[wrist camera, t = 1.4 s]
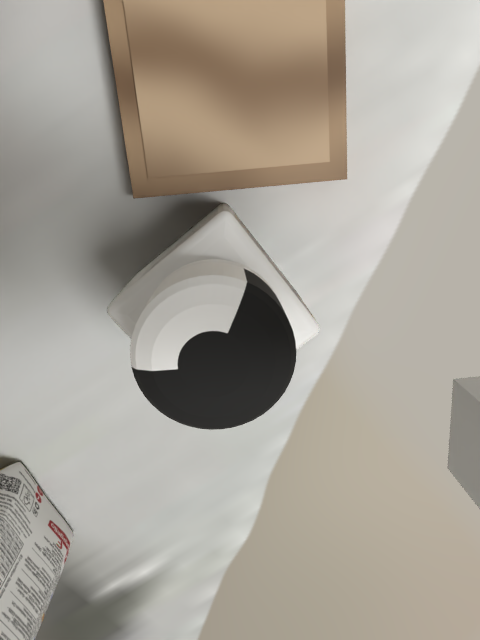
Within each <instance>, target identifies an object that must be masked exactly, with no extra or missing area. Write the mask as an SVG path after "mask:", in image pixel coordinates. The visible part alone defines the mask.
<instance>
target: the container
mask: <svg viewBox="0 0 480 640" xmlns="http://www.w3.org/2000/svg"><path fill="white" fill-rule="evenodd" d="M107 313H108V315H109V316H110V317H111V318H112V319H113V320H114V321H115V322H116V324H117V325H118V326H119V327H120V328H121V329H122V330H123V331H124V332H125V333H126V334H127V335H128V336H129V337H130V338H131V345H130V358H131V366H132V370H133V373H134V377H135V379H136V381H137V384H138V386H139V388H140V389H141V391H142V392H143V394H144V396H145V397H146V398H147V399H148V400H149V402H150V403H151V404H152V405H153V406H154V407H155V408H157V409H158V410H159V411H160V412H161V413H163V414H164V415H166V416H167V417H169V418H171V419H173V420H175V421H177V422H179V423H182V424H184V425H187V426H191V427H195V428H200V429H225V428H232V427H236V426H239V425H243V424H245V423H247V422H250V421H252V420H254V419H256V418H257V417H259V416H261V415H262V414H264V413H265V412H266V411H268V410H269V409H270V408H271V407H272V406H273V405H274V404H275V403H276V402H277V401H278V400H279V399H280V397H281V396H282V395H283V393H284V392H285V390H286V388H287V387H288V385H289V383H290V380H291V378H292V375H293V372H294V367H295V363H296V350H297V349H299V348H300V347H301V346H303V345H304V344H305V343H307V342H308V341H309V340H311V339H312V338H313V337H315V336H316V335H317V334H318V333H319V328H320V327H319V325H318V323H317V321H316V320H315V318H314V317H313V316H312V314H311V313H310V311H309V310H308V308H307V307H306V305H305V304H304V302H303V301H302V299H301V298H300V296H299V295H298V293H297V292H296V290H295V289H294V288H293V287H292V285H291V284H290V283H289V281H288V280H287V279H286V278H285V276H284V275H283V274H282V272H281V271H280V270H279V269H278V267H277V266H276V265H275V264H274V262H273V261H272V260H271V258H270V257H269V256H268V255H267V253H266V252H265V251H264V250H263V248H262V247H261V246H260V244H259V243H258V242H257V241H256V239H255V238H254V237H253V235H252V234H251V233H250V232H249V230H248V229H247V228H246V227H245V225H244V224H243V223H242V221H241V220H240V219H239V218H238V216H237V215H236V214H235V212H234V211H233V210H232V209H231V207H230V206H229V205H228V204H226V203H222V204H220V205H219V206H217V207H216V208H215V209H214V210H213V211H211V212H210V213H209V214H208V215H207V216H205V217H204V218H203V219H202V220H201V221H199V222H198V223H197V224H196V225H195V226H193V227H192V228H191V229H190V230H189V231H187V232H186V233H185V234H184V235H183V236H181V237H180V238H179V239H178V240H177V241H175V242H174V243H173V244H172V245H171V246H169V247H168V248H167V249H166V250H165V251H163V252H162V253H161V254H160V255H159V256H157V257H156V258H155V259H154V260H153V261H152V262H150V263H149V264H148V265H147V266H146V267H144V268H143V269H142V270H141V271H140V272H138V273H137V274H136V275H135V276H134V277H133V278H132V279H131V280H130V282H129V283H128V284H127V285H126V286H125V287H124V288H123V290H122V291H121V292H120V293H119V294H118V295H117V296H116V298H115V299H114V300H113V301H112V302H111V303H110V304H109V306H108V307H107Z"/></svg>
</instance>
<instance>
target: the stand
mask: <svg viewBox="0 0 480 640" xmlns="http://www.w3.org/2000/svg"><path fill="white" fill-rule="evenodd" d="M103 2H104V9H105V15H106V22H107V28H108V35H109V41H110V48H111V54H112V61H113V68H114V74H115V81H116V87H117V94H118V100H119V107H120V113H121V120H122V126H123V133H124V139H125V146H126V152H127V159H128V165H129V172H130V179H131V185H132V192H133V198H144V197H155V196H166V195H177V194H188V193H199V192H210V191H222V190H233V189H244V188H255V187H266V186H277V185H288V184H299V183H310V182H321V181H332V180H343V179H347V132H346V54H345V0H103Z"/></svg>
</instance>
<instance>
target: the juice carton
mask: <svg viewBox="0 0 480 640" xmlns="http://www.w3.org/2000/svg"><path fill="white" fill-rule="evenodd" d="M73 537H74V534H73V532H72V531H71V529H70V527H69V526H68V525H67V523H66V522H65V521H64V519H63V518H62V517H61V515H60V514H59V513H58V512H57V510H56V509H55V508H54V507H53V506H52V504H51V503H50V502H49V500H48V499H47V498H46V496H45V495H44V493H43V492H42V491H41V489H40V488H39V486H38V485H37V483H36V482H35V480H34V479H33V477H32V476H31V475H30V473H29V472H28V471H27V469H26V468H25V467H24V466H23V465H22V464H21V463H20V462H17V463H14V464H11V465H9V466H7V467H5V468H2V469H0V640H35V638H36V635H37V633H38V630H39V628H40V625H41V623H42V620H43V618H44V615H45V613H46V611H47V608H48V606H49V603H50V601H51V598H52V596H53V593H54V591H55V588H56V586H57V583H58V580H59V578H60V575H61V572H62V570H63V567H64V564H65V561H66V559H67V556H68V553H69V550H70V547H71V544H72V541H73Z"/></svg>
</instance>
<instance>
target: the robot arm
mask: <svg viewBox="0 0 480 640" xmlns="http://www.w3.org/2000/svg"><path fill="white" fill-rule="evenodd" d="M448 469H449V470H450V472H451V473H452V474H453V476H454V477H455V478H456V479H457V480H458V482H459V483H460V484H461V486H462V487H463V488H464V489H465V491H466V492H467V493H468V495H469V496H470V497H471V498H472V500H473V501H474V502H475V504H476V505H477V506H478V507H479V509H480V376H479V377H469V378H459V379H453V393H452V409H451V424H450V439H449V455H448Z"/></svg>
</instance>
